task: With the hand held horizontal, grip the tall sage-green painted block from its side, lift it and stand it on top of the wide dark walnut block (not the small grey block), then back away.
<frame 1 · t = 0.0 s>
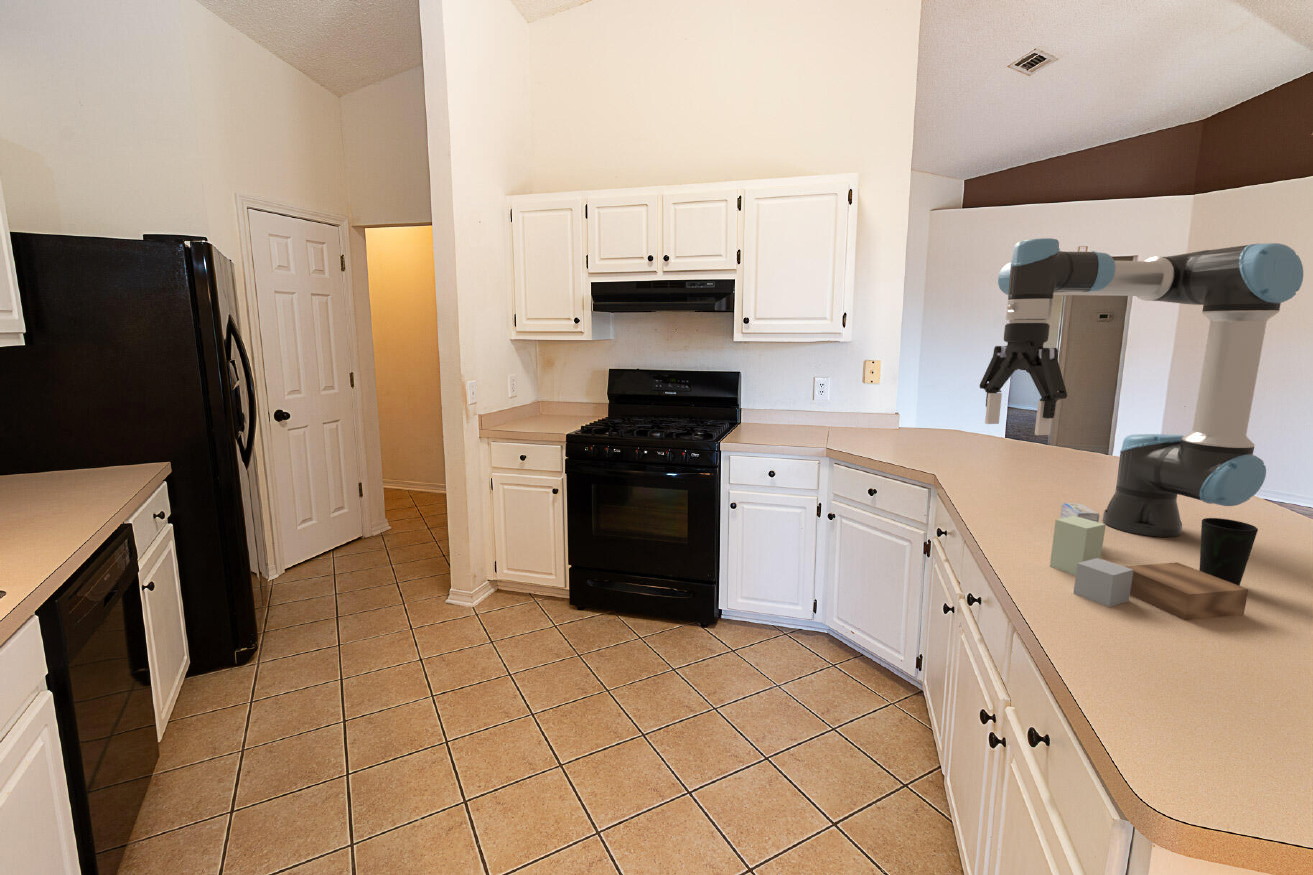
hand: (1015, 429, 121), 28 cm above the countertop, tool pointing down, fingers open, 13 cm apart
cup: (1218, 585, 115), on the countertop
walnut block: (1178, 603, 107), on the countertop
medicine box: (1075, 545, 135), on the countertop
sage block: (1074, 569, 122), on the countertop
grey block: (1100, 597, 109), on the countertop
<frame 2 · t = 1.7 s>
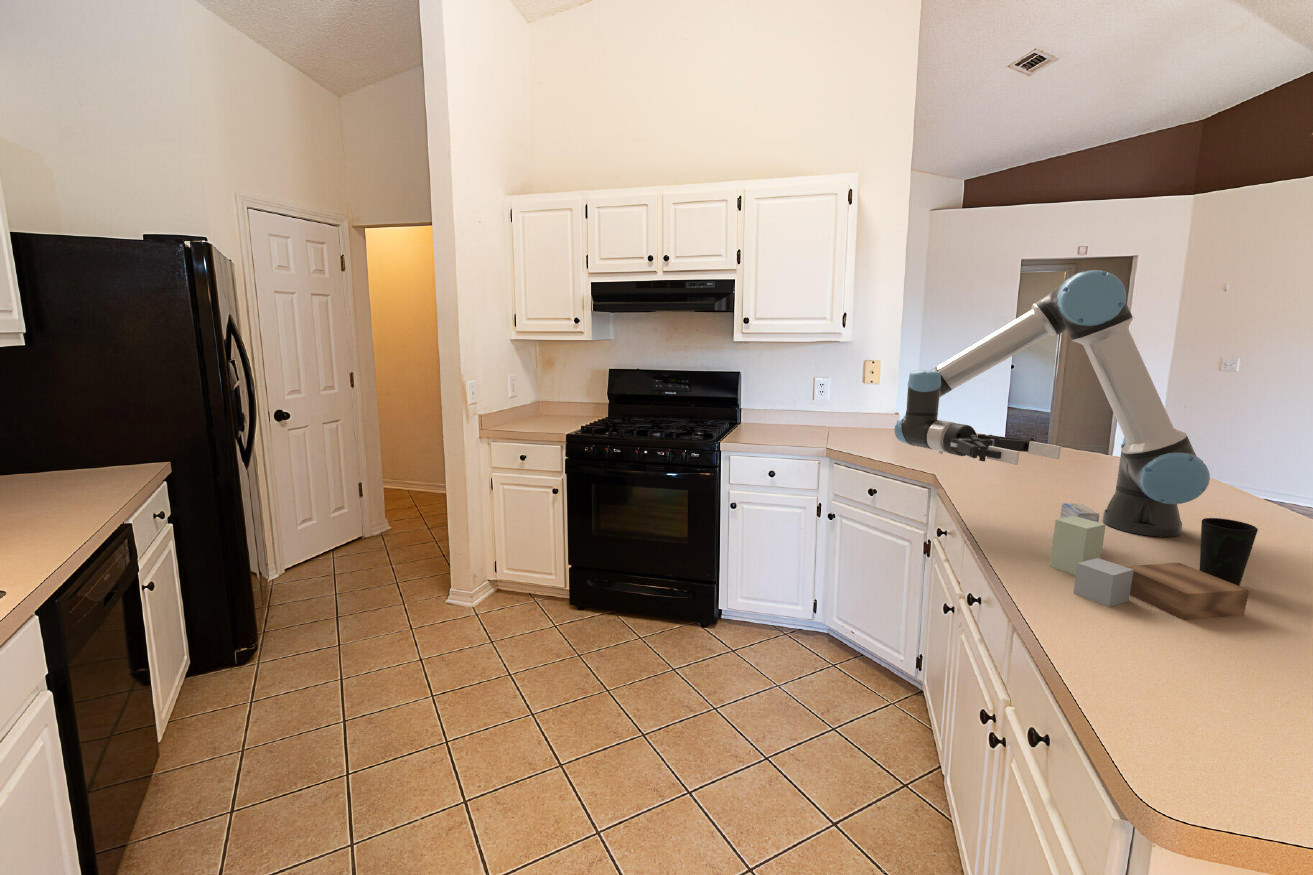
hand: (1039, 455, 127), 22 cm above the countertop, tool horizontal, fingers open, 13 cm apart
nothing on the countertop moved.
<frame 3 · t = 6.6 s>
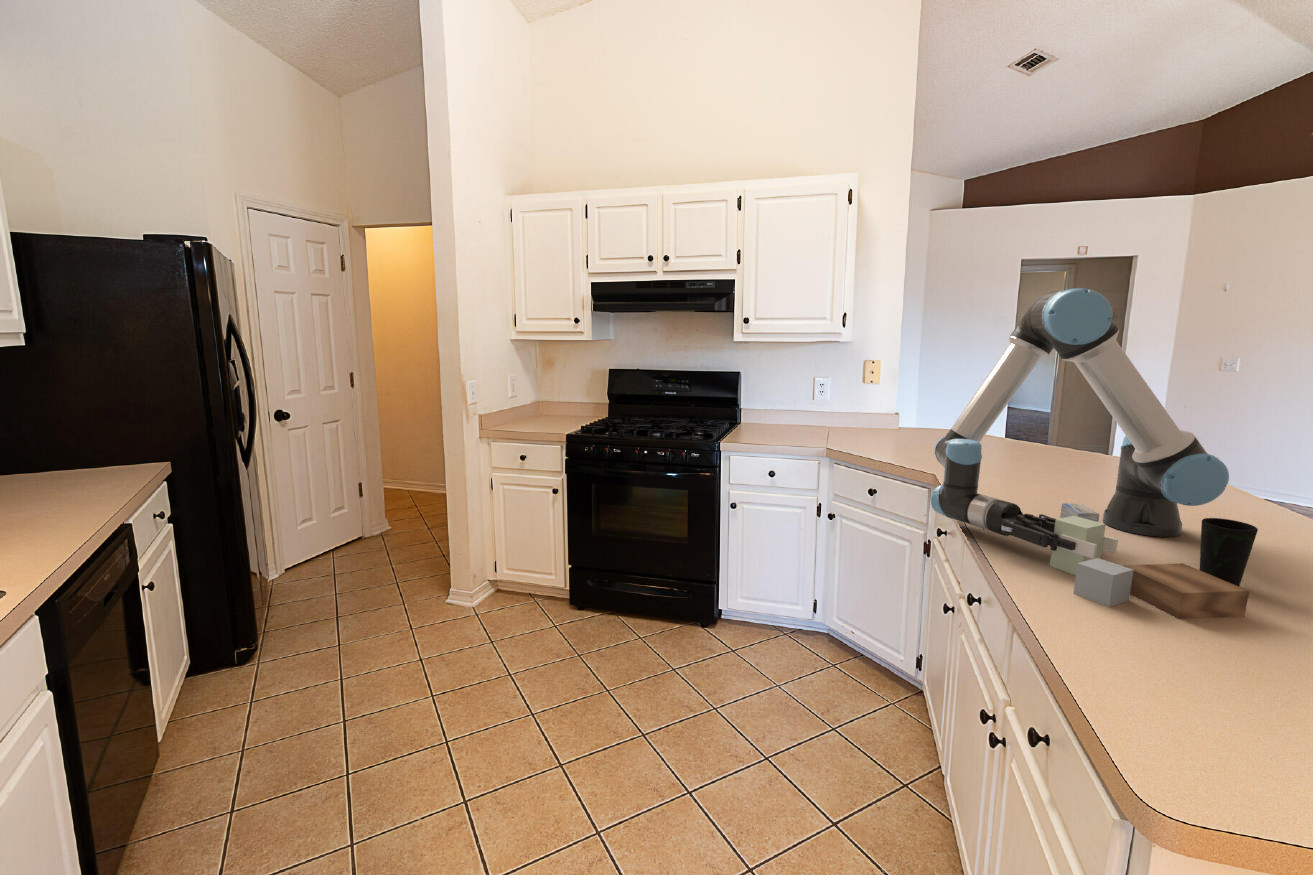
hand: (1105, 548, 116), 6 cm above the countertop, tool horizontal, fingers closed on sage block, 6 cm apart
sage block: (1074, 568, 122), on the countertop, touching gripper
everything else where it was.
when the fingers open (13 cm above the countertop, at t = 10.6 s): sage block drops 2 cm, point 5 cm above the countertop.
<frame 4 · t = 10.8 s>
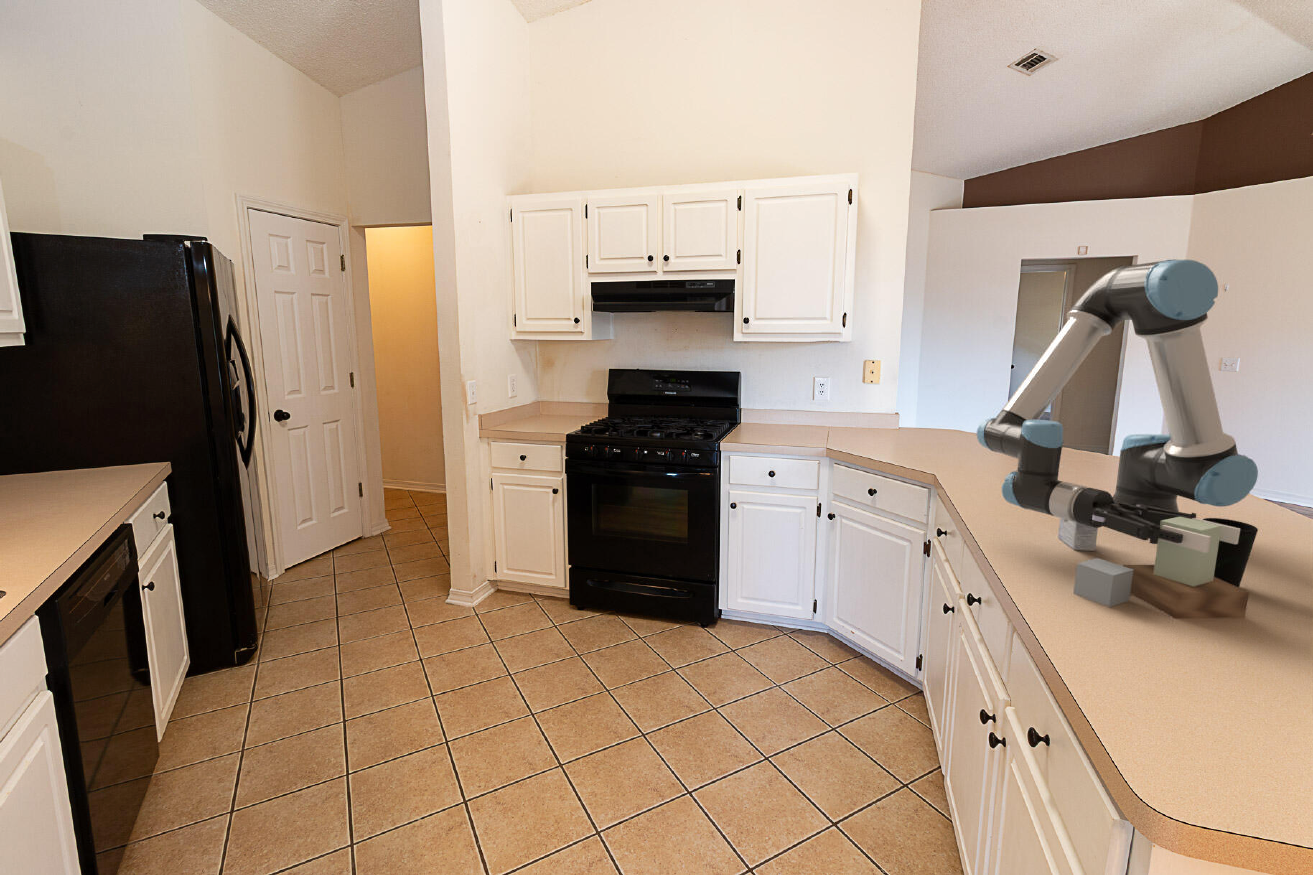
hand: (1223, 540, 101), 13 cm above the countertop, tool horizontal, fingers open, 9 cm apart
sage block: (1182, 577, 106), point 5 cm above the countertop
everything else where it was.
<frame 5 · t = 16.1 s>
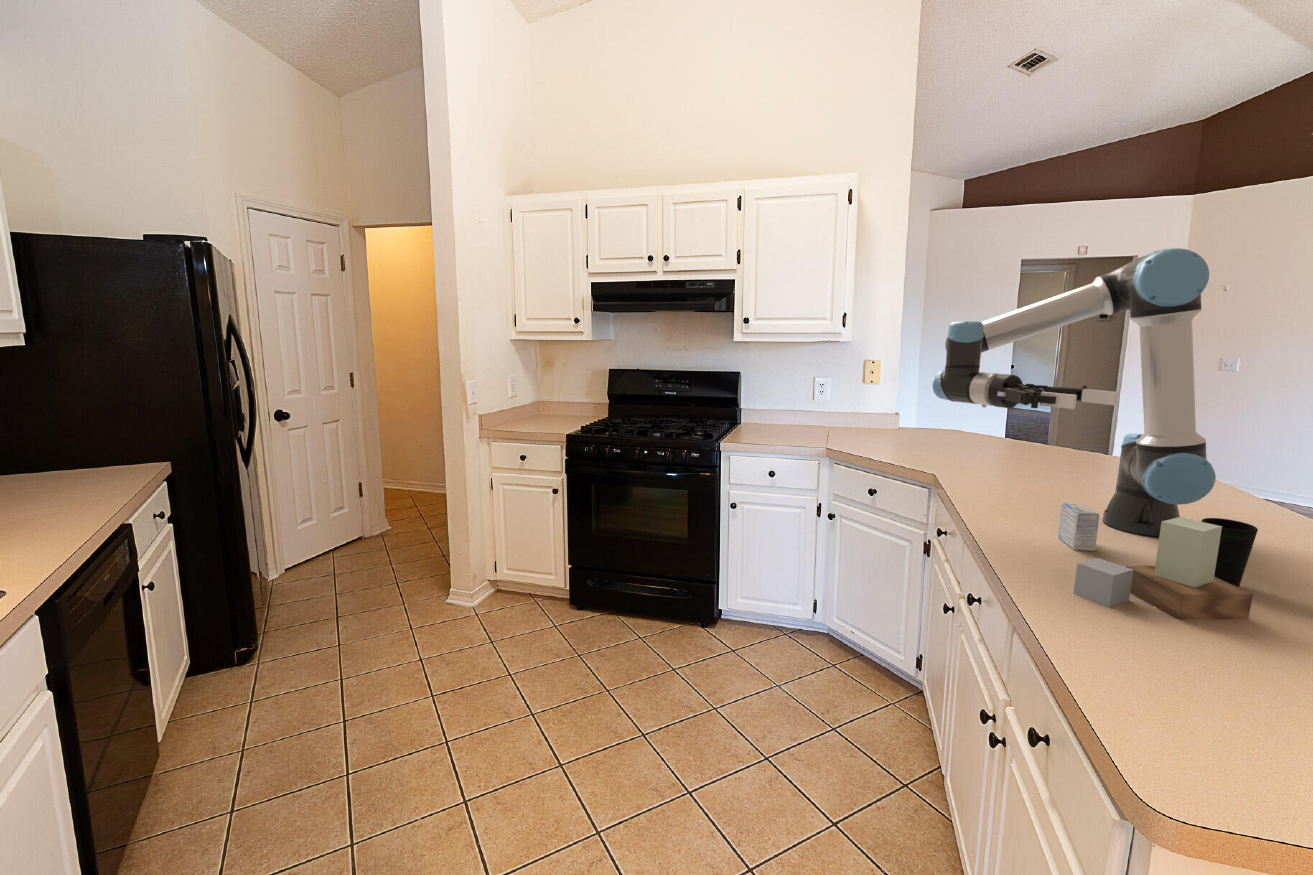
hand: (1096, 400, 119), 34 cm above the countertop, tool horizontal, fingers open, 13 cm apart
nothing on the countertop moved.
at the end: sage block inside the target area on the walnut block (0.3 cm from its centre), point 5.0 cm above the walnut block's base; sage block tilted 0°; the gripper is holding nothing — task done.
